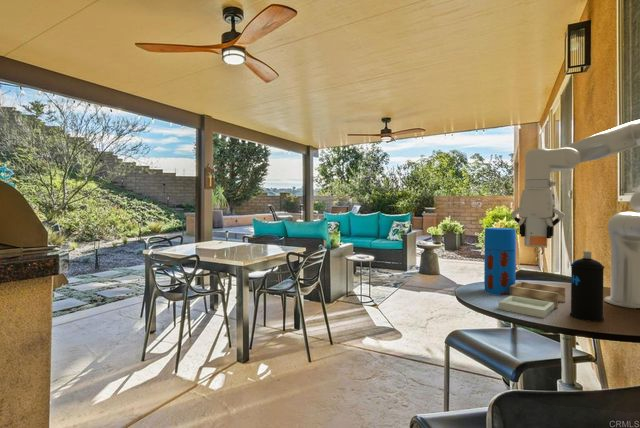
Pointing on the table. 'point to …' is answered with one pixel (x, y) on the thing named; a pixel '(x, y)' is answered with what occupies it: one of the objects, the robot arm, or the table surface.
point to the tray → (527, 306)
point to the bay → (538, 292)
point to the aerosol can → (587, 289)
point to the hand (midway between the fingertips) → (535, 237)
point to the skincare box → (535, 231)
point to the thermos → (499, 260)
